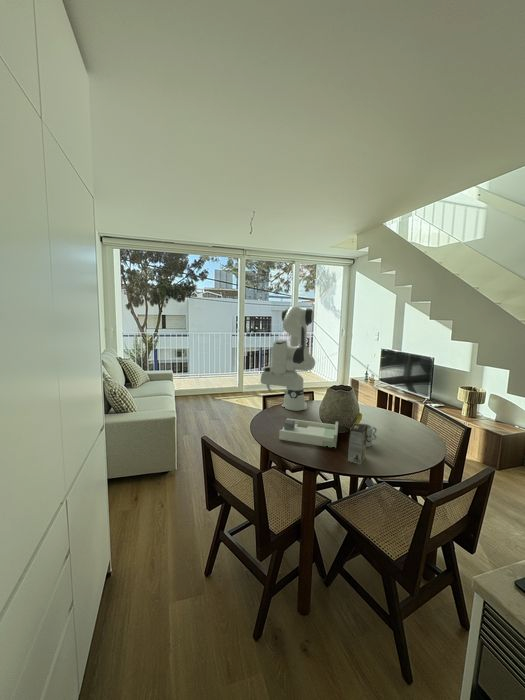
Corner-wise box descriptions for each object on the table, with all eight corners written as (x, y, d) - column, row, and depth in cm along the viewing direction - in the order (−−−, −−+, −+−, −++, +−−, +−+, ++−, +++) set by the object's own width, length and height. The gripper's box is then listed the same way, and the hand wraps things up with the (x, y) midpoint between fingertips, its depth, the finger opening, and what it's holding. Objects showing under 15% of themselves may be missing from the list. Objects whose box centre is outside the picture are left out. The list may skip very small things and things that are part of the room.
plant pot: (358, 426, 189) (360, 410, 187) (362, 432, 178) (363, 416, 177) (341, 424, 190) (342, 409, 188) (344, 431, 179) (345, 415, 178)
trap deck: (286, 426, 184) (287, 415, 183) (337, 433, 176) (338, 421, 175) (279, 439, 165) (279, 426, 164) (335, 448, 157) (336, 435, 156)
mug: (360, 448, 157) (361, 430, 156) (350, 441, 166) (352, 423, 164) (380, 446, 160) (382, 428, 159) (370, 439, 169) (372, 422, 168)
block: (285, 426, 176) (286, 419, 175) (294, 427, 175) (294, 420, 174) (284, 429, 171) (284, 422, 171) (292, 430, 170) (293, 423, 169)
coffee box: (351, 453, 151) (354, 422, 149) (365, 457, 148) (368, 425, 146) (347, 461, 143) (349, 428, 141) (361, 465, 140) (364, 431, 138)
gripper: (298, 369, 172) (296, 393, 173) (263, 366, 177) (262, 390, 179) (296, 371, 166) (294, 396, 167) (260, 368, 171) (259, 392, 173)
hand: (277, 393), depth 173 cm, fingers open, 8 cm apart
